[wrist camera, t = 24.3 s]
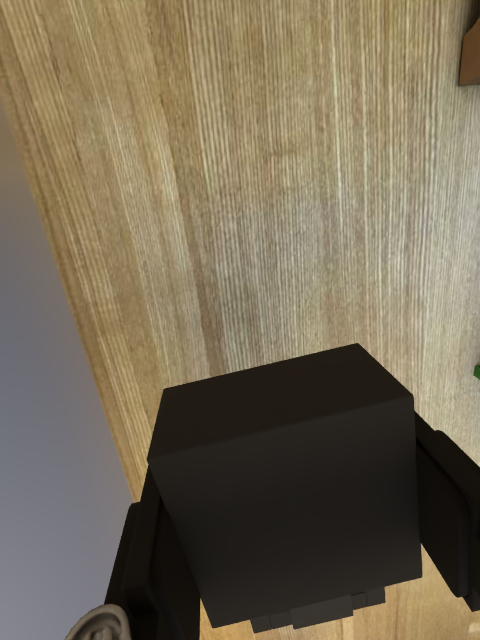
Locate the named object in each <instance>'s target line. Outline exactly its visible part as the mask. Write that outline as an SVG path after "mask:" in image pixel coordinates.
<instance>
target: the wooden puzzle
mask: <svg viewBox="0 0 480 640" xmlns="http://www.w3.org/2000/svg"><path fill="white" fill-rule="evenodd" d="M474 84H480V17H479V19H478V20H477V22H476V23H475V25H474V27H473V28H472V29H471V30H469V31H468V32H467V33H466V34H465V36H464V39H463V50H462V60H461V70H460V81H459V85H461V86H463V85H474Z"/></svg>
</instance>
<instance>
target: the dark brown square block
mask: <svg viewBox="0 0 480 640" xmlns="http://www.w3.org/2000/svg"><path fill="white" fill-rule="evenodd" d="M290 615H291V619H292V624H293V628H294V629H299V628H303V627H307V626H311V625H316V624H320V623H324V622H328V621H333V620H337V619H341V618H345V617H350V616H353V610H352V601H351V595H348V596H344V597H340V598H336V599H332V600H328V601H324V602H320V603H315V604H311V605H307V606H303V607H299V608H295V609H291V610H290Z"/></svg>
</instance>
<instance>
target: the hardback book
mask: <svg viewBox="0 0 480 640" xmlns="http://www.w3.org/2000/svg"><path fill="white" fill-rule="evenodd" d="M474 376H475V377H477V378H478V379H480V365H476V367H475V371H474Z"/></svg>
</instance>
